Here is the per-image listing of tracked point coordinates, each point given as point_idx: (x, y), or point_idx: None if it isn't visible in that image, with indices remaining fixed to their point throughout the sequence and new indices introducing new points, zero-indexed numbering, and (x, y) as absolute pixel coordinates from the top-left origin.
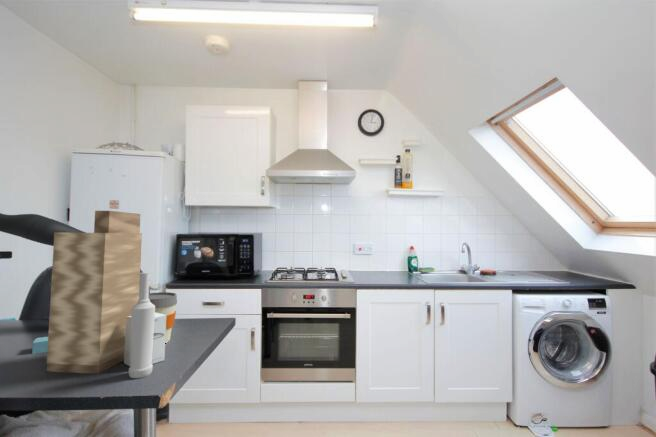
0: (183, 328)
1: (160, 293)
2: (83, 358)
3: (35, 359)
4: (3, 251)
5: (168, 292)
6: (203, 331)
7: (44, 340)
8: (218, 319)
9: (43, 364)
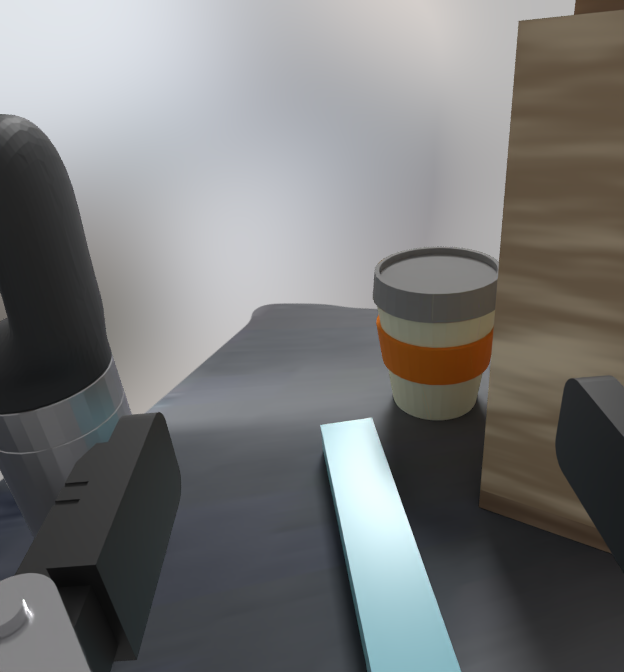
0: (314, 360)
1: (379, 270)
2: None
3: (543, 659)
4: (138, 466)
5: (385, 258)
6: (366, 332)
7: (432, 635)
8: (263, 316)
9: (606, 609)
